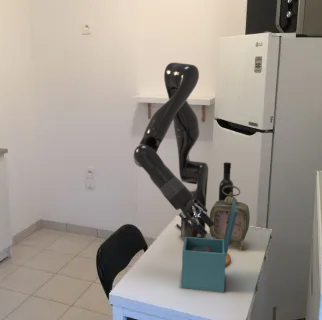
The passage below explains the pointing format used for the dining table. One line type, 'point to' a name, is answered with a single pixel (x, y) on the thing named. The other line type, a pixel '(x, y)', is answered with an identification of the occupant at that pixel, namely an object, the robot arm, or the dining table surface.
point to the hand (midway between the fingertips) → (208, 230)
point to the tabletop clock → (221, 217)
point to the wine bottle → (225, 182)
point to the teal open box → (203, 264)
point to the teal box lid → (230, 226)
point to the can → (200, 249)
